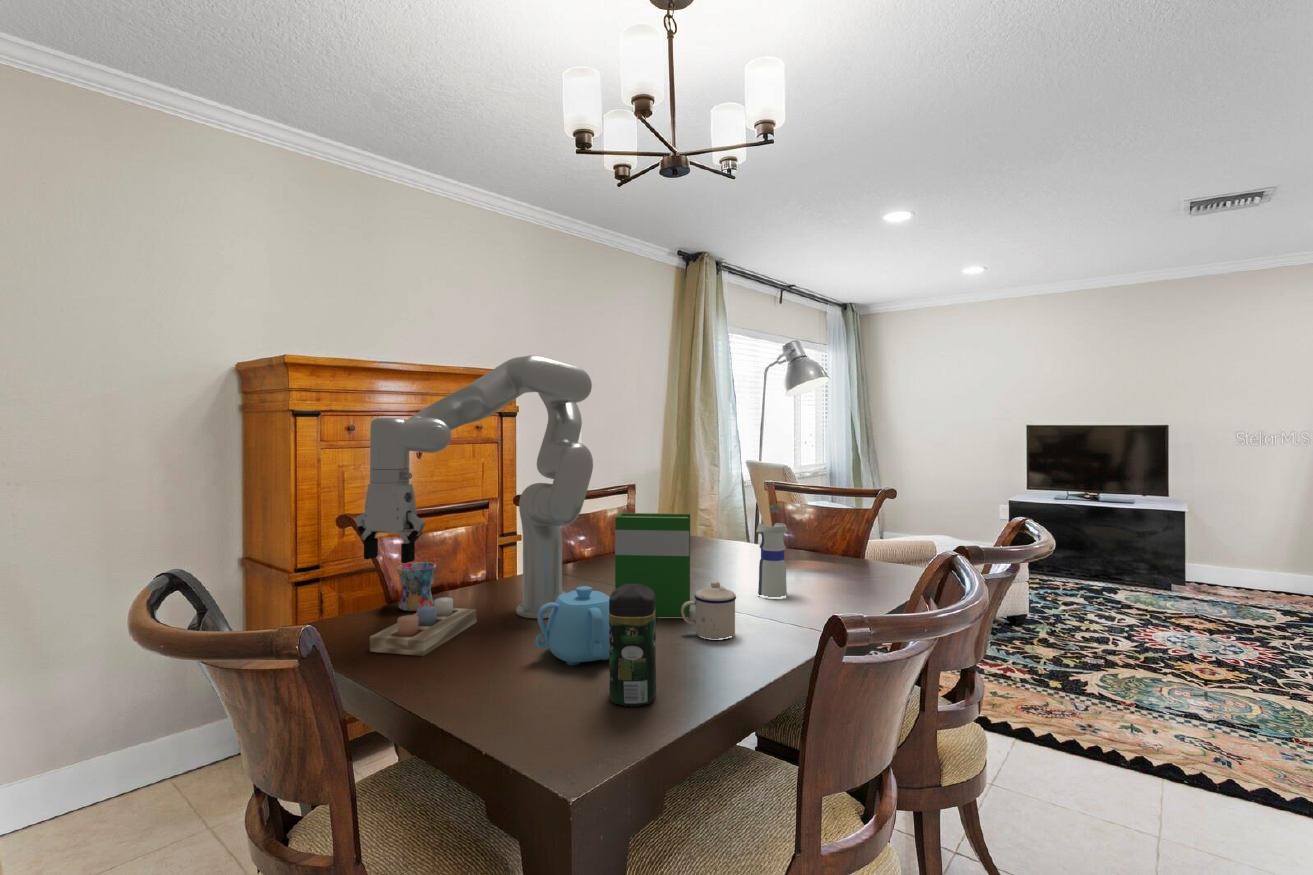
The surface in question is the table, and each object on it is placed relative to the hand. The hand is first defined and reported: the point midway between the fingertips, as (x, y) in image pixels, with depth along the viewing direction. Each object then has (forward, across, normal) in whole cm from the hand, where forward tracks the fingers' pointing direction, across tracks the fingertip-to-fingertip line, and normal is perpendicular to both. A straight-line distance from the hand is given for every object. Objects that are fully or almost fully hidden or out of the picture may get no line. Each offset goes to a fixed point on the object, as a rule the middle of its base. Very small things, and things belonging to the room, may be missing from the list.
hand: (389, 560), depth 131 cm
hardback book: (+17, -43, -41) cm, 62 cm away
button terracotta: (+16, -4, -1) cm, 16 cm away
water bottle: (+17, -67, -67) cm, 97 cm away
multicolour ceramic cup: (+18, +14, -26) cm, 34 cm away
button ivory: (+15, -2, -15) cm, 22 cm away
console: (+18, -3, -8) cm, 20 cm away
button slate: (+15, -3, -8) cm, 18 cm away
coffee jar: (+18, -57, +4) cm, 60 cm away
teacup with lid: (+17, -60, -30) cm, 70 cm away
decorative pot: (+18, -40, -10) cm, 45 cm away
